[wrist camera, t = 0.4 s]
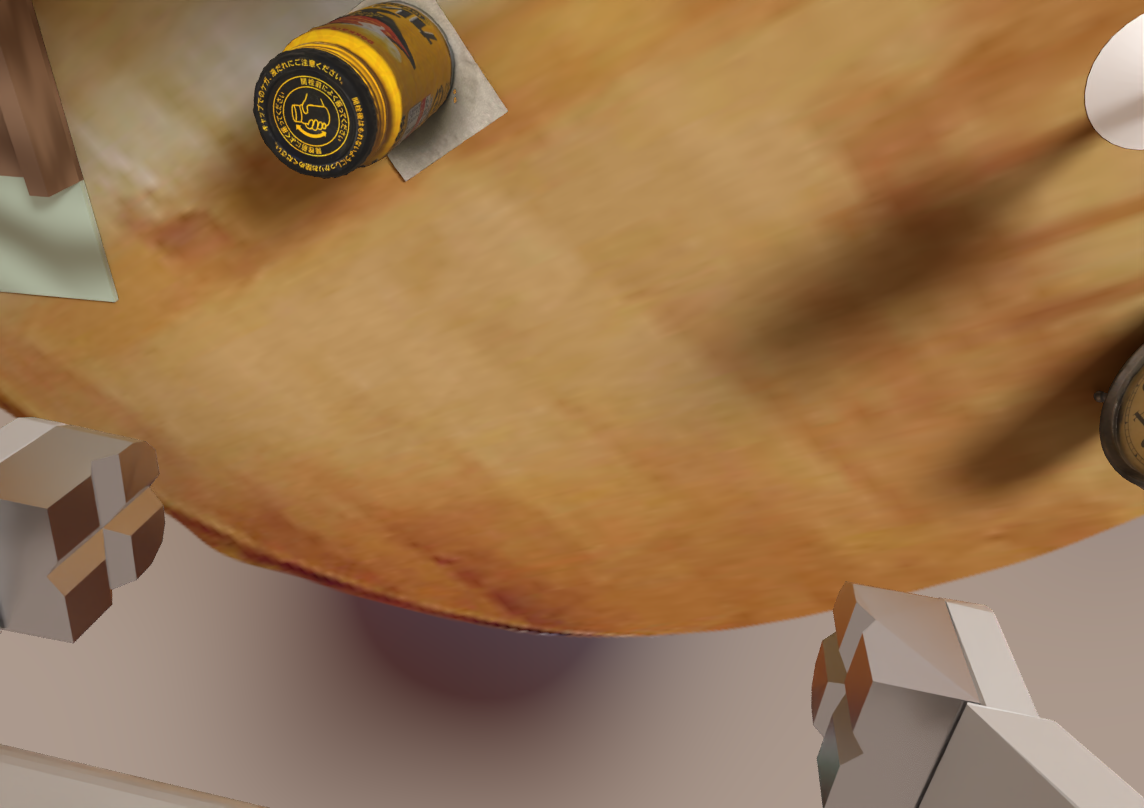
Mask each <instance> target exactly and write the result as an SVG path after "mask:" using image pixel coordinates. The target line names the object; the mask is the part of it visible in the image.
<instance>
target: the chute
mask: <svg viewBox="0 0 1144 808" xmlns="http://www.w3.org/2000/svg"><path fill="white" fill-rule="evenodd" d="M0 291H1V292H12V293H22V294H33V295H44V296H55V297H65V298H76V299H87V300H97V301H108V302H116V301H117V300H119V299H118V296H117V292H116V289H115V285H114V282H113V279H112V275H111V272H110V268H109V265H108V261H107V258H106V255H105V251H104V248H103V244H102V241H101V238H100V234H99V231H98V227H97V224H96V220H95V217H94V214H93V210H92V207H91V203H90V200H89V196H88V193H87V190H86V186H85V183H84V179H83V176H82V172H81V169H80V166H79V162H78V159H77V155H76V152H75V148H74V145H73V142H72V138H71V135H70V131H69V128H68V124H67V121H66V118H65V114H64V111H63V107H62V104H61V100H60V97H59V94H58V90H57V87H56V83H55V80H54V77H53V73H52V70H51V66H50V63H49V59H48V56H47V53H46V49H45V46H44V42H43V39H42V35H41V32H40V29H39V25H38V22H37V18H36V15H35V11H34V8H33V5H32V1H31V0H0Z"/></svg>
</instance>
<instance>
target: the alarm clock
mask: <svg viewBox="0 0 1144 808" xmlns="http://www.w3.org/2000/svg"><path fill="white" fill-rule="evenodd" d="M1094 399H1095V400H1096V401H1097V402H1104V403H1103V407H1102V411H1101V416H1100V427H1099V431H1100V440H1101V445H1102V449H1103V451H1104V454H1105V456H1106V458H1107V459H1108V461H1109V462H1110V464H1111V465H1112V467H1113V468H1114V469H1115V470H1116V471H1117V472H1118V473H1119V474H1120V475H1121V476H1122V477H1123V478H1125V479H1126V480H1128V481H1130V482H1131V483H1133V484H1135V485H1137V486H1139V487H1140V488H1142V489H1143V490H1144V343H1143V344H1142V345H1141V346H1140V347H1139V348H1138V349H1137V350H1136V351H1135V352H1134V353H1133V354H1132V356H1131V357H1130V358H1129V359H1128V360H1127V361H1126V363H1125V364H1124V366H1123V367H1122V368H1121V370H1120V371H1119V373H1118V374H1117V376H1116V377H1115V379H1114V381H1113V383H1112V385H1111V386H1110V389H1109V391H1108V393H1104V392H1102V391H1097V392H1096V393H1094Z"/></svg>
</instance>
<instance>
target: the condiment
mask: <svg viewBox="0 0 1144 808" xmlns="http://www.w3.org/2000/svg"><path fill="white" fill-rule="evenodd" d="M454 89H456V94H453V90H454ZM454 97H456V98H457V102H456V103H454ZM253 112H254V116H255V118H256V122H257V125H258V127H259V130H260V133H261V136H262V138H263V140H264V142H265V144H266V145H267V146H268V147H269V148H270V149H271V151H272V152H273V153H274V154H275V155H276V157H277V158H278V159H279V160H280V161H281V162H283V163H284V164H285V165H287V166H288V167H289V168H291V169H293V170H295V171H297V172H299V173H301V174H305V175H310V176H314V177H322V178H324V179H325V178H330V177H334V178H336V177H339V176H342V175H347V174H348V173H349V172H351V171H353V170H355V169H357V168H360V167H366V166H369V165H371V164H373V163H375V162H377V161H379V160H381V159H383V158H384V157H385V156H386V155H387V156H388V157H389V159H390V160H391V162H392V163H393V165H394V167H395V168H396V169H397V170H398V172H399V173H400V174H401V176H402V177H403V178H404V180H405V181H407V180H409V179H410V178H411V177H413V176H414V175H416V174H417V173H419V172H420V171H421V170H423V169H424V168H426V167H427V166H429V165H430V164H432V163H433V162H435V161H436V160H437V159H439V158H441V157H442V156H443V155H445V154H446V153H447V152H449V151H451V150H452V149H454V148H455V147H456V146H458V145H459V144H461V143H462V142H464V140H467V139H468V138H470V137H471V136H473V135H474V134H475V133H477V132H479V131H480V130H481V129H483V128H484V127H486V126H487V125H489V124H490V123H492V122H493V121H495V120H496V119H498V118H499V117H501V116H502V115H503V114H505V113H506V112H508V110H507V109H506V107H505V106H504V104H503V103H502V101H501V100H500V99H499V97H498V96H497V94H496V92H495V91H494V89H493V87H492V86H491V85H490V83H489V82H488V81H487V79H486V78H485V76H484V74H483V73H482V71H481V70H480V68H479V67H478V65H477V64H476V62H475V61H474V59H473V58H472V56H471V54H470V53H469V51H468V50H467V48H466V47H465V45H464V44H463V42H462V40H461V39H460V37H459V35H458V34H457V32H456V31H455V29H454V28H453V26H452V25H451V23H450V22H449V20H448V19H447V17H446V16H445V14H444V13H443V11H442V10H441V8H440V7H439V5H438V4H437V2H436V0H363V1H362V2H361V3H360V4H358V5H357V6H356V7H355V8H353V9H352V10H351V11H350V12H349V13H347V14H346V15H345V16H343V17H339V18H337V19H335V20H333V21H331V22H329V23H327V24H325V25H322V26H319V27H314V28H312V29H311V30H309V31H308V32H306V33H304V34H302V35H300V36H299V37H297V38H295V39H294V40H292V41H291V42H290V43H289V44H288V45H287V46H286V48H285V49H284V50H283V52H282V53H280V54H278V55H277V56H276V57H275V58H273V59H271V60H270V61H269V63H268V64H267V65H266V66H265V67H264V68H263V71H262V72H261V74H260V77H259V80H258V81H257V83H256V87H255V93H254V108H253Z"/></svg>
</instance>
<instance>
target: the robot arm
mask: <svg viewBox="0 0 1144 808" xmlns="http://www.w3.org/2000/svg"><path fill="white" fill-rule="evenodd" d="M159 474H160V473H159V467H158V462H157V456H156V450H155V449H154V448H153V447H152V446H150V445H149V444H148V443H147V442H146V441H142V440H138V439H133V438H129V437H124V436H120V435H115V434H111V433H106V432H102V431H97V430H93V429H88V428H84V427H79V426H75V425H67V424H64V423H60V422H55V421H50V420H45V419H40V418H35V417H24V418H16V419H15V420H13V421H11V422H10V423H8V424H6V425H5V426H3V427H1V428H0V633H1V629H2V630H7V631H12V632H17V633H22V634H28V635H33V636H38V637H43V638H49V639H54V640H59V641H64V642H70V643H74V642H75V641H76V640H77V639H78V638H79V637H80V636H81V635H82V634H83V633H84V632H85V631H86V630H87V629H88V628H89V627H90V626H91V625H92V624H93V623H94V622H95V621H96V620H97V619H98V618H99V617H100V616H101V615H102V614H103V613H104V612H105V611H106V610H107V609H108V608H109V607H110V606H111V605H112V589H114V588H117V587H120V586H122V585H125V584H127V583H130V582H132V581H135V580H137V579H138V578H139V577H140V576H141V575H142V574H143V573H144V572H145V571H146V569H147V568H148V567H149V566H150V565H151V564H152V562H153V560H154V558H155V556H156V554H157V552H158V550H159V548H160V545H161V544H162V541H163V534H164V527H165V517H164V507H163V504H162V503H161V501H160V500H159V499H158V497H157V496H156V495H155V494H154V492H153V491H152V490H151V488H150V486H151V484H152V483H153V482H154V480H155V479H156V478H157V476H158V475H159ZM833 614H834V620H835V627H836V632H835V633H833V634H832V635H830V636H829V637H827V638H825V639H824V640H823V641H822V644H821V647H820V651H819V654H818V657H817V660H816V664H815V670H814V676H813V682H812V697H811V708H812V717H813V725H814V727H815V728H816V729H817V730H818V731H819V733H820V734H821V735H822V736H823V737H824V739H823V742H822V745H821V748H820V751H819V754H818V756H817V763H818V772H819V781H820V789H821V797H822V805H823V808H1144V797H1142V796H1141V795H1140V794H1139V793H1138V792H1136V790H1134V789H1133V788H1132V787H1131V786H1130V785H1129V784H1127V783H1126V782H1125V781H1124V780H1123V779H1122V778H1120V777H1119V776H1118V775H1117V774H1116V773H1115V772H1113V771H1112V770H1111V769H1110V768H1109V767H1108V766H1106V765H1105V764H1104V763H1103V762H1102V761H1101V760H1099V759H1098V758H1097V757H1096V756H1095V755H1094V754H1093V753H1091V752H1090V751H1089V750H1088V749H1087V748H1085V747H1084V746H1083V745H1082V744H1081V743H1080V742H1079V741H1077V740H1076V739H1075V738H1074V737H1073V736H1071V735H1070V734H1069V733H1068V732H1067V731H1066V730H1064V729H1063V728H1062V727H1061V726H1060V725H1059V724H1058V723H1056V722H1055V721H1053V720H1049V719H1044V718H1039V716H1038V713H1037V711H1036V709H1035V706H1034V704H1033V702H1032V699H1031V697H1030V695H1029V692H1028V691H1027V688H1026V685H1025V683H1024V681H1023V679H1022V676H1021V674H1020V672H1019V669H1018V667H1017V664H1016V662H1015V660H1014V658H1013V655H1012V653H1011V651H1010V648H1009V646H1008V644H1007V641H1006V639H1005V637H1004V635H1003V632H1002V630H1001V627H1000V625H999V623H998V620H997V618H996V616H995V613H994V611H992V610H991V609H990V608H989V607H988V606H986V605H981V604H975V603H969V602H963V601H957V600H951V599H945V598H933V597H928V596H922V595H917V594H912V593H906V592H901V591H896V590H890V589H885V588H880V587H874V586H869V585H863V584H858V583H853V582H847V581H845V583H844V585H843V586H842V588H841V590H840V591H839V594H838V596H837V599H836V602H835V605H834V608H833ZM0 808H268V807H264V806H260V805H255V804H252V803H247V802H243V801H239V800H234V799H230V798H226V797H222V796H218V795H213V794H209V793H205V792H201V791H197V790H192V789H188V788H184V787H179V786H175V785H171V784H167V783H163V782H159V781H154V780H150V779H146V778H142V777H137V776H133V775H129V774H125V773H120V772H116V771H112V770H108V769H104V768H99V767H95V766H91V765H87V764H82V763H78V762H74V761H70V760H65V759H61V758H57V757H53V756H48V755H44V754H40V753H36V752H32V751H28V750H23V749H19V748H15V747H11V746H7V745H2V744H0Z"/></svg>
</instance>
